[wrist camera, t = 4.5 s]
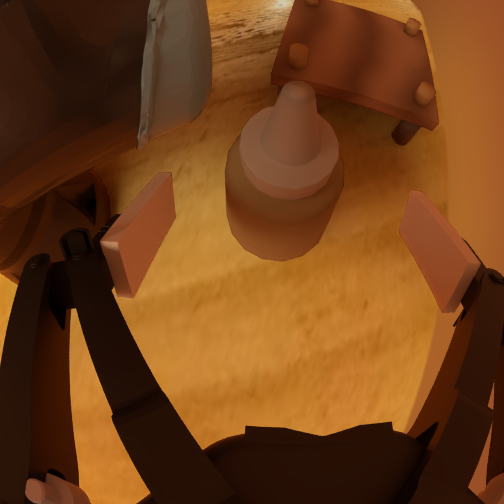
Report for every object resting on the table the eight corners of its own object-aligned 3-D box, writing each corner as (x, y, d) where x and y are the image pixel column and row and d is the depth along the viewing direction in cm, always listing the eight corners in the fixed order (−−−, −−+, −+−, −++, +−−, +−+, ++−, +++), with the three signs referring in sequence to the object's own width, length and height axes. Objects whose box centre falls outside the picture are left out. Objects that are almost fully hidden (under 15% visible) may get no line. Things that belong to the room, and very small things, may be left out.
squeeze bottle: (256, 282, 26) (246, 246, 8) (216, 204, 27) (154, 68, 10) (335, 241, 26) (443, 147, 9) (292, 167, 28) (325, 14, 10)
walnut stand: (269, 114, 29) (271, 58, 20) (293, 29, 31) (297, -18, 23) (411, 152, 28) (448, 112, 19) (405, 61, 30) (427, 20, 22)
